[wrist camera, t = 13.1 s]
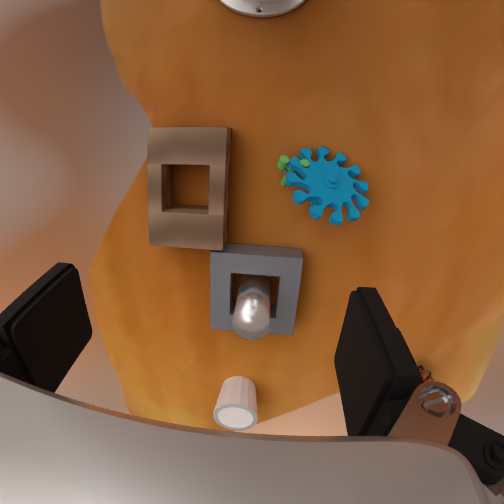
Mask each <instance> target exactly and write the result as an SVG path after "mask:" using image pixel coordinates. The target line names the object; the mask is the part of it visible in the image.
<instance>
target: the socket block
mask: <svg viewBox="0 0 504 504" xmlns="http://www.w3.org/2000/svg"><path fill="white" fill-rule="evenodd" d="M302 265H303V256H302V251H301V249H300V248H286V247H273V246H259V245H245V244H231V243H225V245H224V248H223V250H211V252H210V321H211V329H219V330H230V331H234V330H233V327H232V321H233V316H234V311H235V306H236V302H232V300H233V273H239V274H252V275H265V276H279V277H278V287H277V297H276V305H271V304H270V327H269V330H268V332H267V333H268V334H283V335H293V330H294V323H295V317H296V310H297V303H298V296H299V288H300V281H301V273H302Z"/></svg>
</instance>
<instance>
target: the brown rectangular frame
mask: <svg viewBox="0 0 504 504" xmlns="http://www.w3.org/2000/svg"><path fill="white" fill-rule="evenodd" d="M231 130H232V128H226V127H160V128H148V162H147V176H148V220H149V242H150V245H154V246H168V247H181V248H195V249H209V250H223V248H224V245H225V243H226V241H227V222H228V195H229V171H230V150H231ZM172 164H190V165H210V175H209V206H192V205H172Z"/></svg>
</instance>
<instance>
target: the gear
mask: <svg viewBox="0 0 504 504" xmlns="http://www.w3.org/2000/svg"><path fill="white" fill-rule="evenodd" d="M328 153H329V150H328V149H327V148H325V147H321V146H319V148H318V150H317V152H316V154H317V156H318V162H314V161H312V160H311V158H310V157H311V155H312V151H311V149H309V148H304V149H301V151H300V153H299V156H300V157H301V158H302V159H301V161H300V159H299V158H298V157H293V158H292V159H291V160H290V161H289V158H288V157H287V156H285V155H282V156H281V157H280V159H279V161H278V163H277V167H278V168H279V169H280V170H282V173H283V174H284V176H283V178H282V181H281V185H282V186H286V185H288V186H298V187H301V188H303V189H305V190H307V191H308V192H309V194H307V193H305V192H303V191H301V190H296V191H295V192H294V194H293V200H294V202H295V204H297V205H301V204H302V203H303V202H305V201H309V200H312V201H311V202H310V206H311V209H310V210H309V212H308V213H309V214H310V216H311V217H313V218H314V219H315V220H318V219H319V218H320V217H321V215H322V214H323V210H324V209H325V208H327V207H332V208H333V209H334V210H335V212H334V213H333V214H332V215H331V216H330V217H329V222H330V223H332V224H334V225H338V226H339V225H340V224H341V222H342V221H343V216H342V213H341V208H342V205H343V206H346V207H347V209H348V213H347V219H348V220H349V221H355V220H357V219H358V218H359V217H360V212H359V211H358V210H357V209H356V208H355V206H354V204H353V202H352V198H353V199H354V200H355V201H356V204H357V207H358V208H359V209H360V210H363V209H364V208H365V207H366V206H367V205H368V204H369V200H368V199H367V198H365V197H363V196H361V195H360V194H359V193H358V192H357V191H356V190H355V189H354V187H355V188H356V189H357V190H358V191H359V192H360V193H361V194H365V193H366V192H367V191H368V183H367V182H365V181H357V180H355V179H353V178H351V177H350V176H352V177H354V178H357V177H358V176H359V175H360V173H361V171H360V169H359V167H358V166H357V165H353V166H352V167H349V168H343V167H340V166H339V165H342V164H344V162H345V161H346V159H347V158H346V157H345V156H344V155H343V154H342V153H340V152H338V153H337V154H336V156H335V158H334V160H332V161H330V162H329V161H326V160H325V159H324V158H326V156H327V155H328ZM349 175H350V176H349ZM319 204H320V205H319Z"/></svg>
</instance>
